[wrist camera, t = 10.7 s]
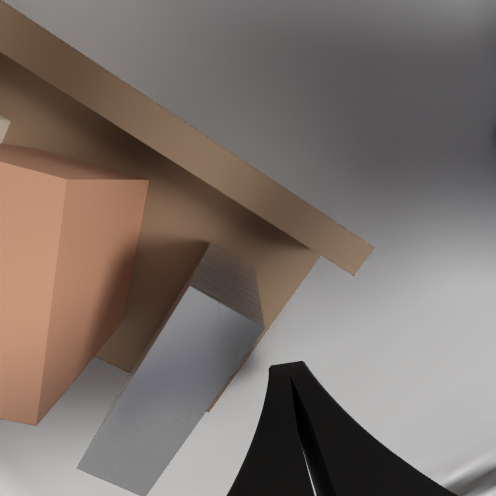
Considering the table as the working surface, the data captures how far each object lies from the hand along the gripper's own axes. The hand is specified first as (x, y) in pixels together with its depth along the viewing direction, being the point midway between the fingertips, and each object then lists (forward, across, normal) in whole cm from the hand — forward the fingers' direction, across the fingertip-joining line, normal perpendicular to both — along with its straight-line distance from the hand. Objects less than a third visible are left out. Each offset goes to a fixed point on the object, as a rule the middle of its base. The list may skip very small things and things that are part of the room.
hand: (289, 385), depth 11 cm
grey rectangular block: (+1, +3, -3) cm, 5 cm away
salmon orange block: (+1, +7, -6) cm, 10 cm away
